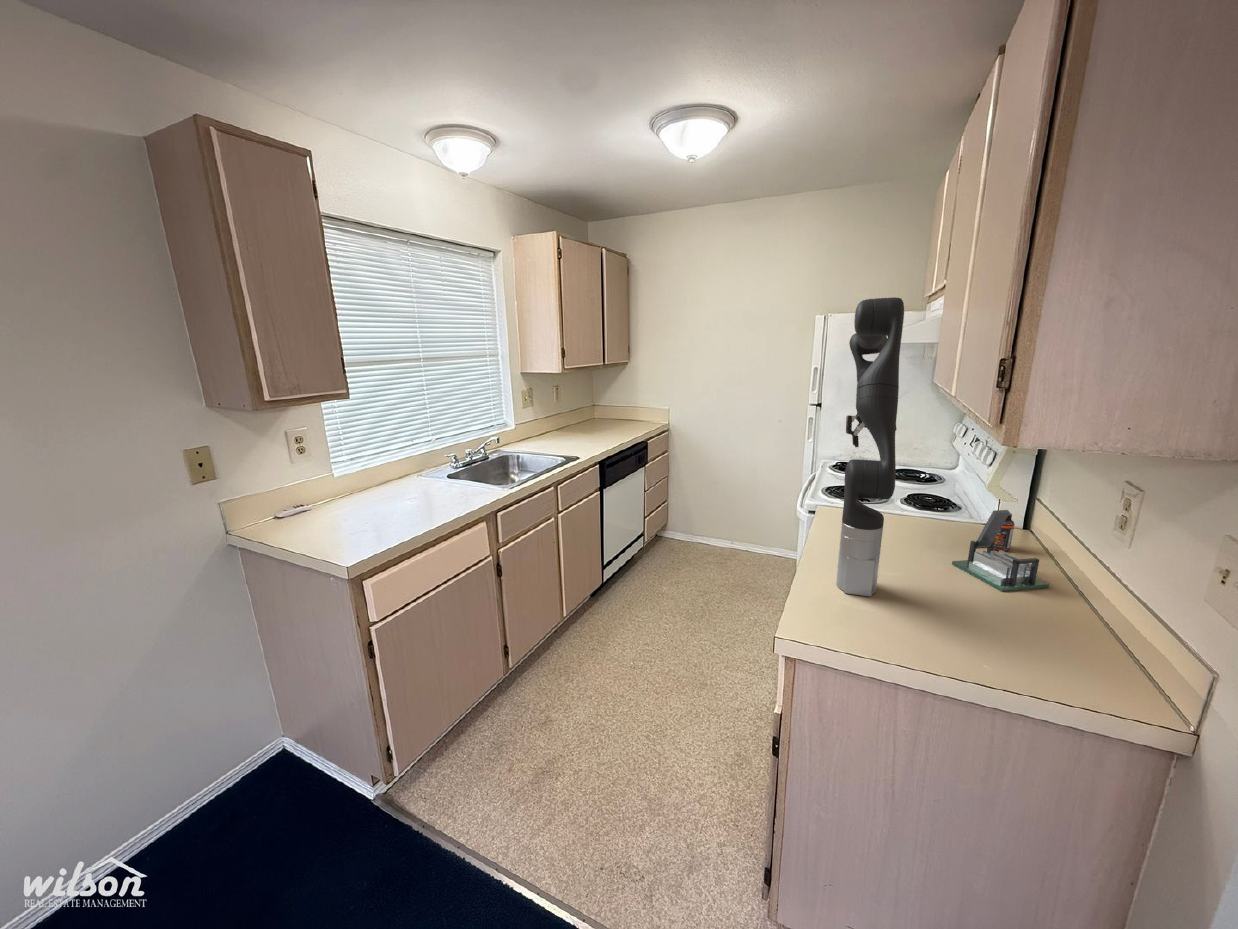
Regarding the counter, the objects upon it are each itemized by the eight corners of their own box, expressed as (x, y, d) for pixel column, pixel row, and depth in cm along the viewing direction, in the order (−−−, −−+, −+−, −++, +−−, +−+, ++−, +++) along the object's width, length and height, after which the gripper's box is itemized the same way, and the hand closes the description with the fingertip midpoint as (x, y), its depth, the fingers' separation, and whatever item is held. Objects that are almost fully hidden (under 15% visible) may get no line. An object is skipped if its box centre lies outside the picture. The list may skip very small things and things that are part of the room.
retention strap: (972, 546, 136) (992, 510, 129) (985, 545, 136) (1006, 509, 129) (976, 549, 134) (996, 513, 128) (989, 548, 135) (1010, 512, 128)
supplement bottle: (983, 548, 148) (989, 512, 145) (986, 542, 152) (992, 508, 149) (1008, 553, 144) (1015, 517, 141) (1010, 547, 148) (1017, 512, 145)
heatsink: (951, 564, 137) (955, 539, 136) (994, 561, 139) (998, 536, 137) (1001, 591, 122) (1006, 563, 120) (1048, 587, 123) (1054, 559, 122)
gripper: (848, 397, 154) (849, 448, 156) (898, 393, 151) (899, 445, 152) (843, 397, 161) (844, 446, 163) (890, 393, 158) (892, 444, 159)
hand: (871, 446), depth 157 cm, fingers open, 8 cm apart
